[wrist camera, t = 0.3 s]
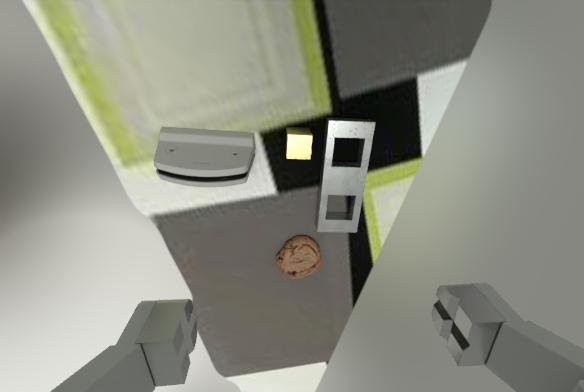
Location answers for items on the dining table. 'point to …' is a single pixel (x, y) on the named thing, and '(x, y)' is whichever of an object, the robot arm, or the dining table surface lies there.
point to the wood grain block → (298, 143)
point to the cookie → (299, 257)
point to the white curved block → (204, 156)
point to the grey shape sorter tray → (343, 173)
